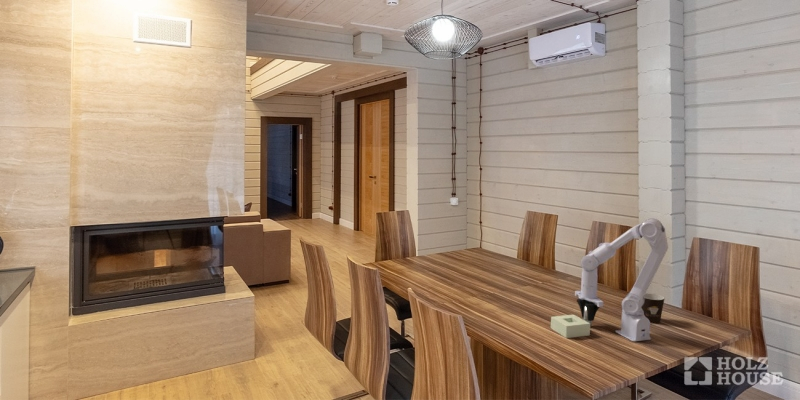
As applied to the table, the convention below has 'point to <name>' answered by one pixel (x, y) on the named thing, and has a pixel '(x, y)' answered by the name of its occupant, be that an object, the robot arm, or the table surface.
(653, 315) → the coffee mug
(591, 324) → the pin
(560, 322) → the bore block
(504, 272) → the table surface
